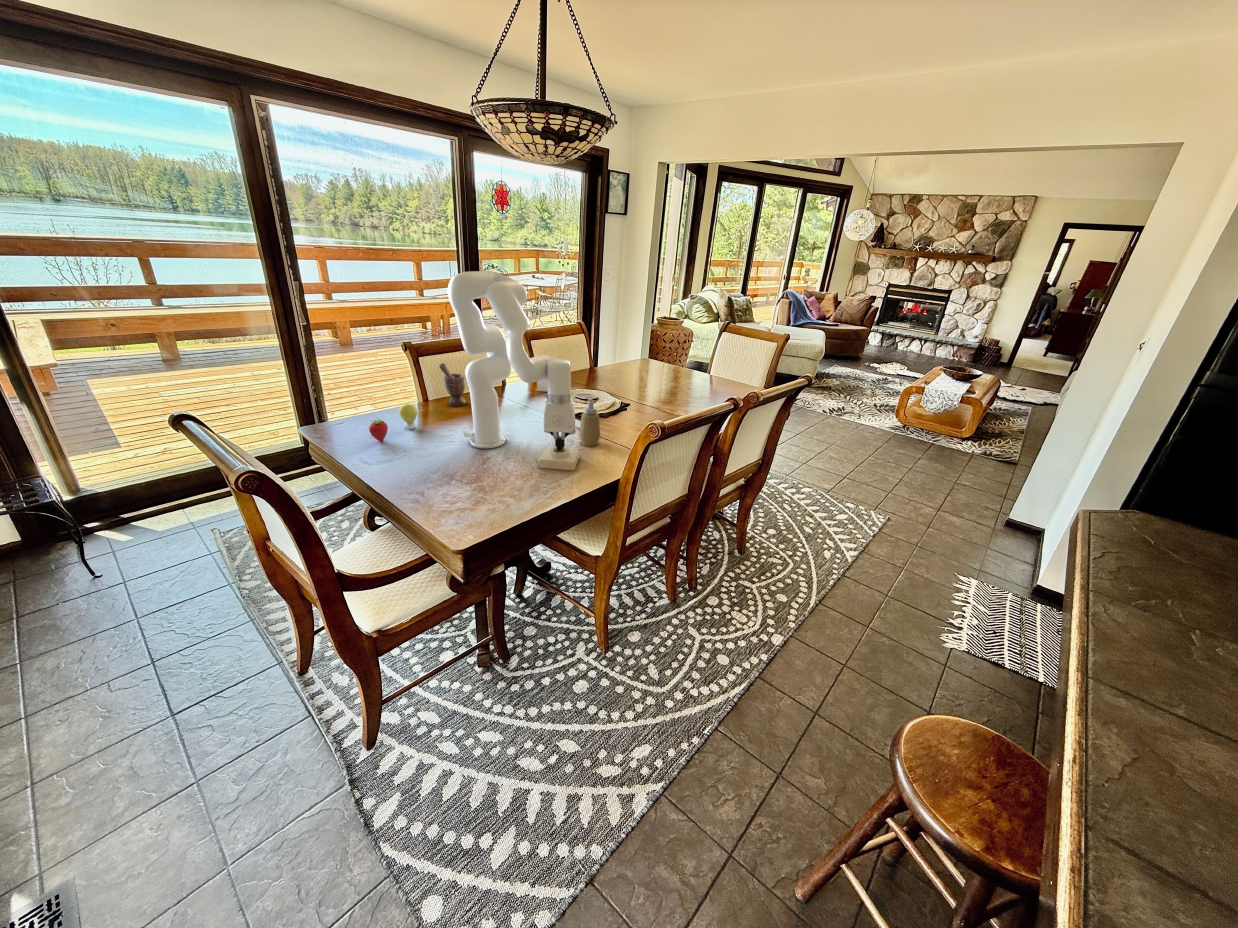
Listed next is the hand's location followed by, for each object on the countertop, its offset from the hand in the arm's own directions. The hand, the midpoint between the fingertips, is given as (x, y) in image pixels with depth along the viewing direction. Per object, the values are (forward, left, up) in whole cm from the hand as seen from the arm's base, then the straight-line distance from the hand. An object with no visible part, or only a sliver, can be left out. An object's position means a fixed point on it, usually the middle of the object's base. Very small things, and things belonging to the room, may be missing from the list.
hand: (560, 448), depth 165 cm
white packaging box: (-23, +84, -6) cm, 87 cm away
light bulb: (-64, +21, -6) cm, 68 cm away
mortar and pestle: (-58, +52, -6) cm, 78 cm away
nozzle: (0, 0, -2) cm, 2 cm away
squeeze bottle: (+8, +19, -6) cm, 21 cm away
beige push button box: (0, 0, -6) cm, 6 cm away
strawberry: (-68, +6, -6) cm, 69 cm away
